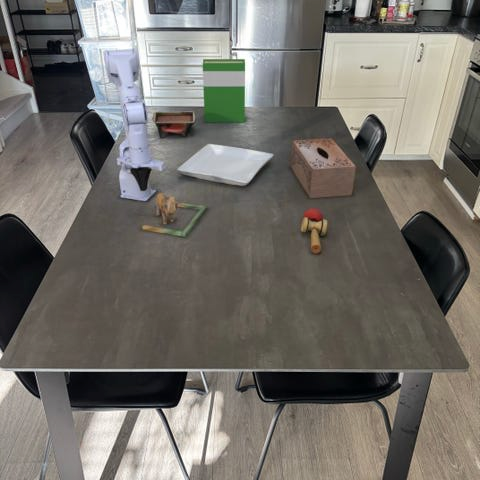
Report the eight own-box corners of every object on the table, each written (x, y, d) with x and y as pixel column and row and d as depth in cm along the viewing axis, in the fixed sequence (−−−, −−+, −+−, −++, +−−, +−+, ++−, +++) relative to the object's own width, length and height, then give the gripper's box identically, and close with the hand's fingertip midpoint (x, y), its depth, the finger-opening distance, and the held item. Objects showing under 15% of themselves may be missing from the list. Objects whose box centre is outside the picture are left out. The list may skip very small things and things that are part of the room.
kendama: (331, 257, 151) (326, 219, 163) (330, 239, 146) (324, 201, 159) (304, 260, 152) (300, 222, 164) (302, 243, 148) (298, 205, 160)
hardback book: (204, 122, 235) (202, 63, 220) (205, 116, 241) (203, 59, 226) (244, 122, 236) (245, 63, 221) (244, 116, 241) (244, 59, 226)
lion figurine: (184, 224, 163) (182, 197, 157) (168, 229, 160) (166, 202, 155) (162, 206, 172) (159, 180, 167) (147, 210, 170) (144, 184, 164)
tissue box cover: (290, 167, 197) (292, 140, 191) (328, 164, 199) (331, 138, 193) (310, 198, 177) (312, 169, 171) (351, 195, 179) (355, 166, 173)
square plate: (176, 179, 189) (175, 168, 186) (208, 152, 208) (208, 142, 206) (247, 192, 181) (247, 181, 178) (274, 162, 200) (274, 152, 198)
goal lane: (142, 229, 160) (142, 226, 160) (167, 203, 174) (167, 200, 173) (184, 236, 157) (184, 233, 156) (206, 209, 171) (206, 206, 170)
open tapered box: (192, 144, 220) (195, 119, 214) (149, 137, 218) (150, 112, 213) (195, 134, 232) (197, 111, 226) (153, 128, 230) (155, 104, 225)
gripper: (109, 147, 153) (116, 191, 161) (155, 153, 149) (160, 198, 158) (121, 139, 158) (126, 182, 167) (166, 145, 155) (169, 188, 163)
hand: (143, 189), depth 163 cm, fingers closed
